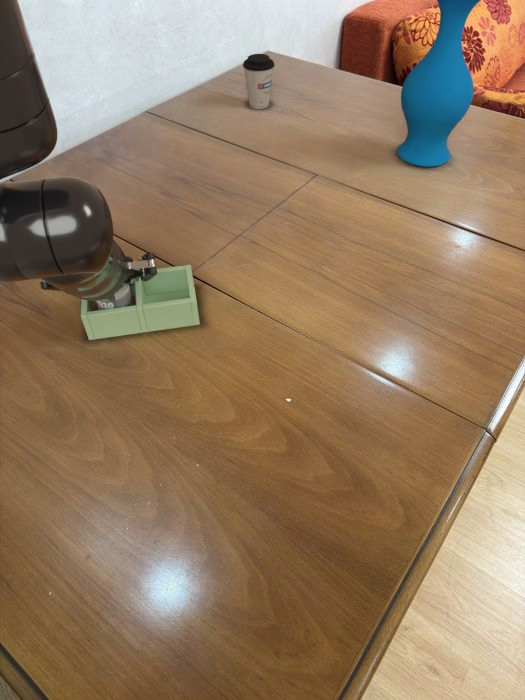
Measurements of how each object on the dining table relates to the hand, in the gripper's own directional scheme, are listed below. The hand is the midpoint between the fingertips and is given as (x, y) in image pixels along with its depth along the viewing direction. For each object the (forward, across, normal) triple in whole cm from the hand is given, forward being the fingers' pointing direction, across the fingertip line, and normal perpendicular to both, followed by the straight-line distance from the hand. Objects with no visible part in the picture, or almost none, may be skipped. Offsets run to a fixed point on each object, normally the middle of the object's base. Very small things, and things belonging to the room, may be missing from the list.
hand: (111, 280), depth 72 cm
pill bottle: (+2, 0, +4) cm, 5 cm away
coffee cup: (+49, -32, -42) cm, 72 cm away
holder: (+3, -3, +5) cm, 6 cm away
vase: (+27, -59, -19) cm, 68 cm away
